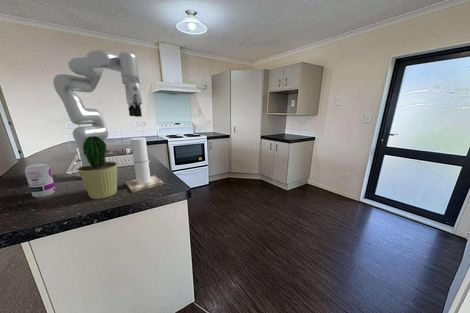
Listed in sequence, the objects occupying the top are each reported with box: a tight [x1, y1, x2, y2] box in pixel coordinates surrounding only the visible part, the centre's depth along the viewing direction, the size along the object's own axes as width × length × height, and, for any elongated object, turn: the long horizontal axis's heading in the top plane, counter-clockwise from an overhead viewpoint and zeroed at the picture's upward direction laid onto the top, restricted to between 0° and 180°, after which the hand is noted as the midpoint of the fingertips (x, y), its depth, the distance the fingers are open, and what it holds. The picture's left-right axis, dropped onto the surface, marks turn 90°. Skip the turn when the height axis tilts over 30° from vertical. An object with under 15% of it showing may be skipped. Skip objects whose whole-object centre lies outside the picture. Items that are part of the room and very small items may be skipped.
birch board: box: [125, 174, 164, 193], centre depth 101 cm, size 16×14×2 cm
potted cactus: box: [77, 136, 118, 200], centre depth 85 cm, size 15×15×30 cm
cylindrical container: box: [130, 137, 151, 184], centre depth 97 cm, size 7×7×25 cm
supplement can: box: [24, 163, 57, 198], centre depth 86 cm, size 8×8×15 cm
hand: (135, 116), depth 91 cm, fingers open, 9 cm apart
